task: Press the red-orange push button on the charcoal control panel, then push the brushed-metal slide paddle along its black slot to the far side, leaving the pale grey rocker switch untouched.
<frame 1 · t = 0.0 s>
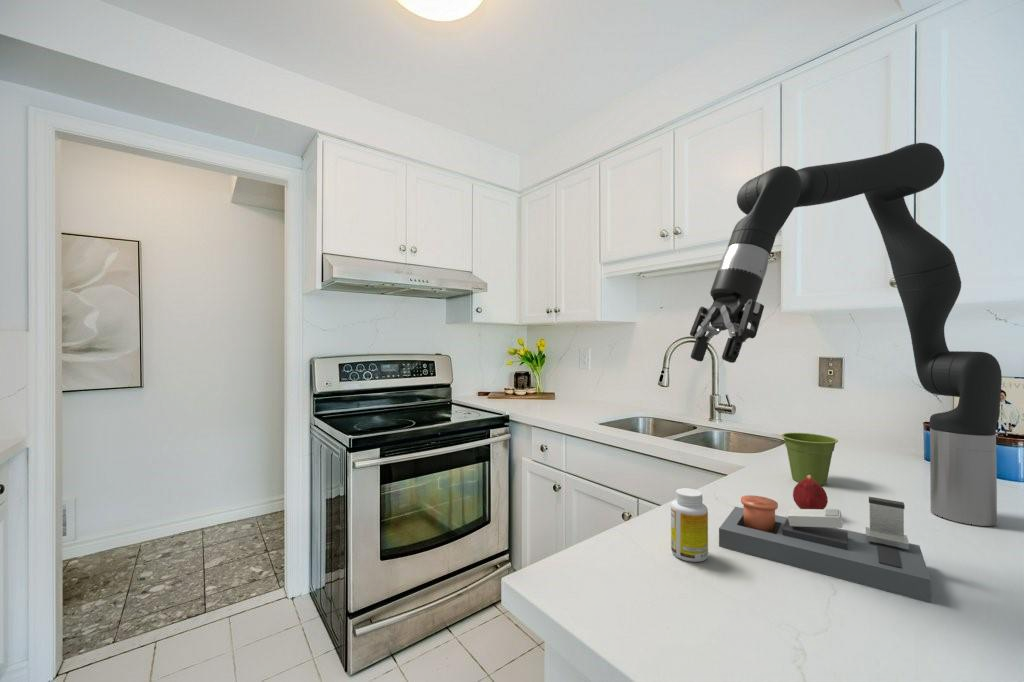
hand: (711, 360, 76), 31 cm above the countertop, tool tilted 20°, fingers open, 8 cm apart
plant pot: (809, 482, 110), on the countertop
onion: (810, 516, 87), on the countertop
rocker switch: (814, 517, 71), point 6 cm above the countertop, hinge at 12.0°
slide paddle: (886, 520, 68), point 7 cm above the countertop, slide at 0.0 cm
push button: (759, 513, 76), point 5 cm above the countertop, slide at 0.0 cm
supplement bottle: (689, 556, 70), on the countertop
control panel: (815, 555, 70), on the countertop
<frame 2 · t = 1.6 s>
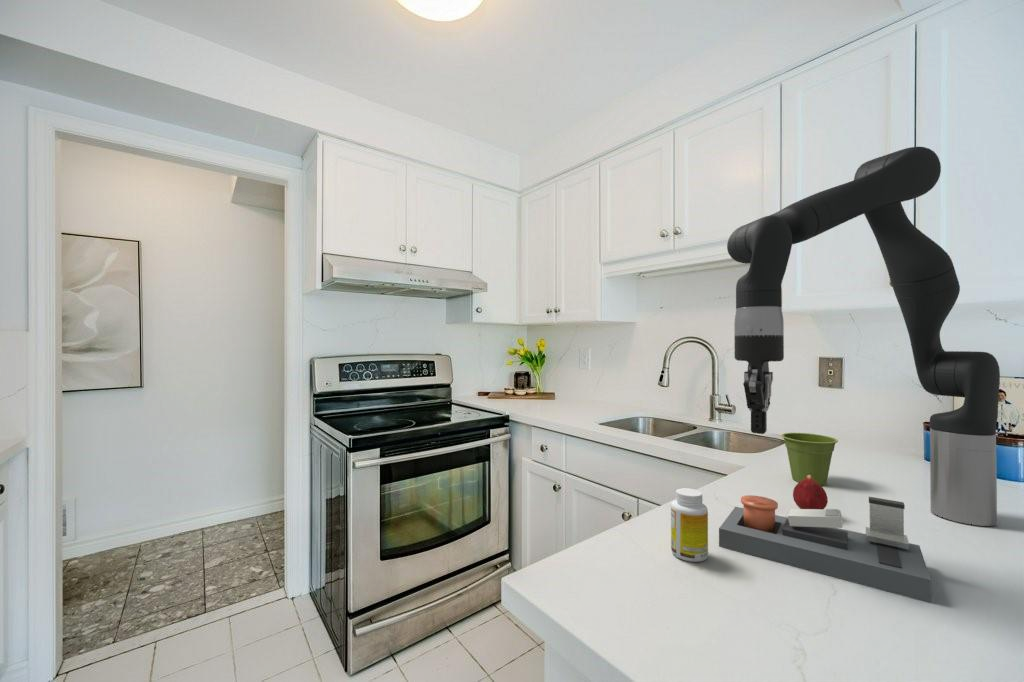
hand: (758, 432, 76), 19 cm above the countertop, tool pointing down, fingers closed
nothing on the countertop moved.
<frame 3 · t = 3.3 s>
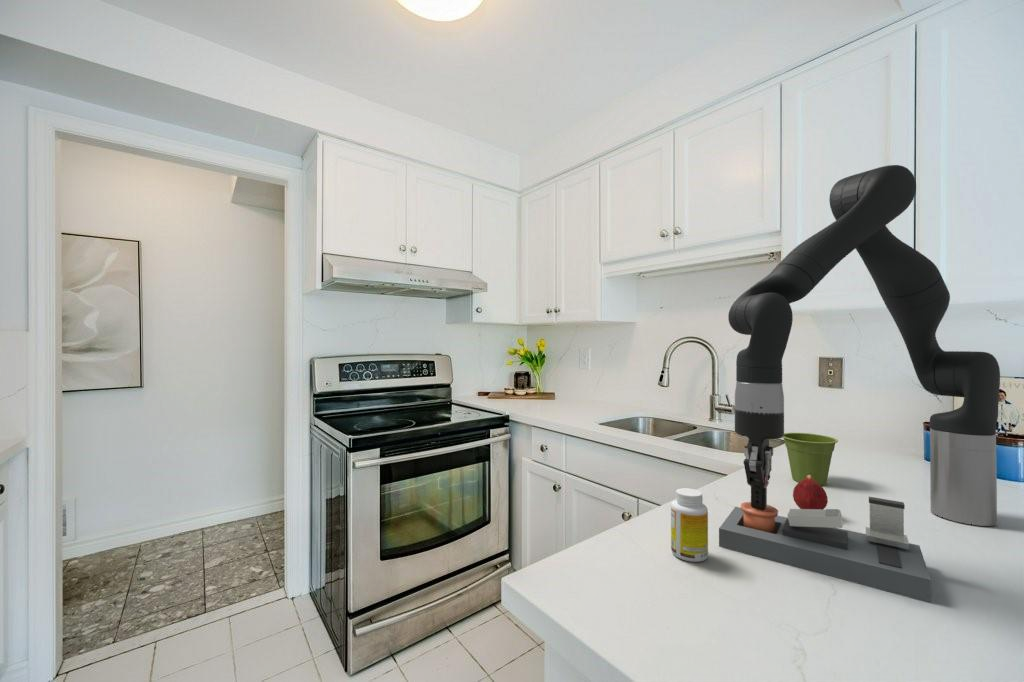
hand: (758, 507, 75), 6 cm above the countertop, tool pointing down, fingers closed
push button: (759, 520, 76), point 4 cm above the countertop, slide at 1.2 cm, touching gripper
everything else where it was.
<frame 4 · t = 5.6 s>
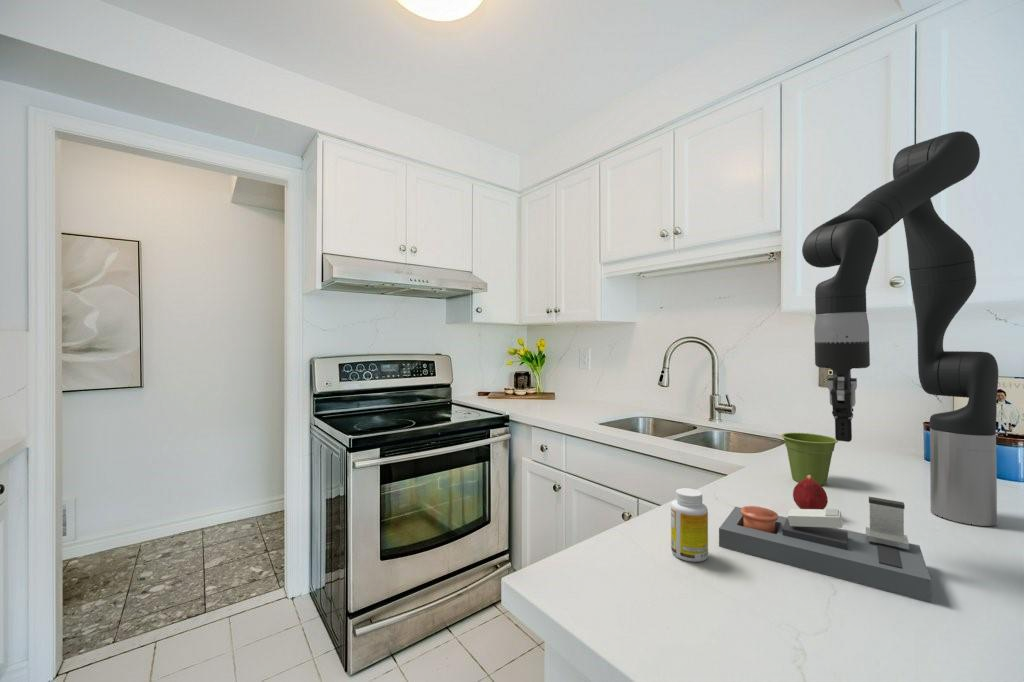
hand: (843, 440, 75), 18 cm above the countertop, tool pointing down, fingers closed
push button: (759, 524, 76), point 3 cm above the countertop, slide at 1.9 cm
everything else where it was.
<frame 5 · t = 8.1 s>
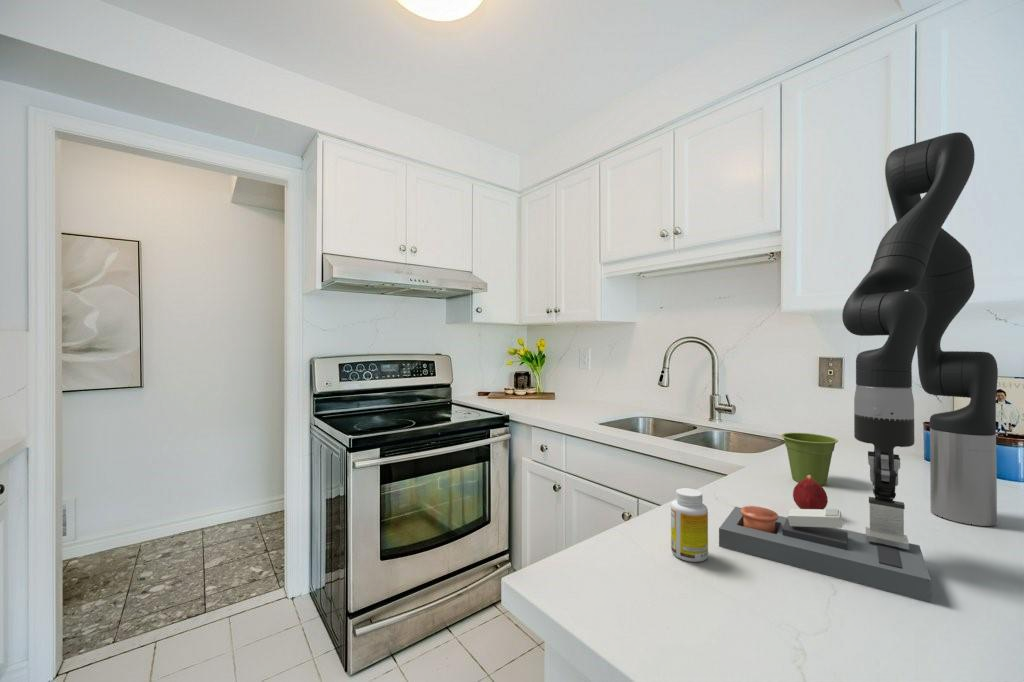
hand: (883, 519, 71), 6 cm above the countertop, tool pointing down, fingers closed
slide paddle: (886, 520, 68), point 7 cm above the countertop, slide at 0.0 cm, touching gripper
everything else where it was.
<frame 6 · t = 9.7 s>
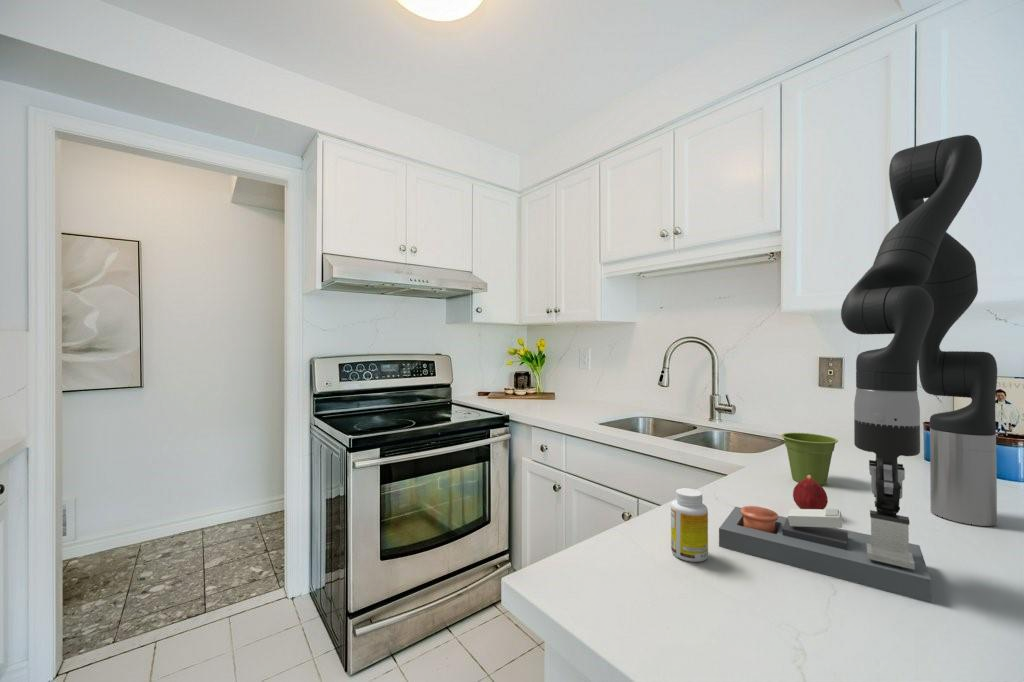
hand: (886, 534, 65), 6 cm above the countertop, tool pointing down, fingers closed
slide paddle: (889, 536, 62), point 7 cm above the countertop, slide at 7.6 cm, touching gripper
everything else where it was.
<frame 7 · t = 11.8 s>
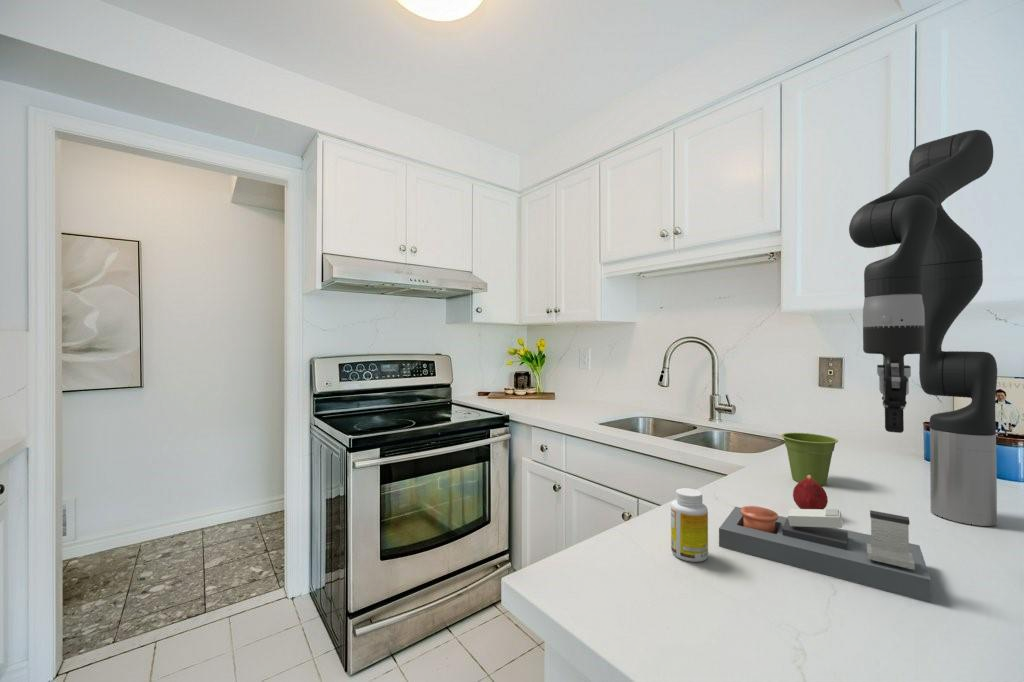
hand: (894, 431, 70), 20 cm above the countertop, tool pointing down, fingers closed
slide paddle: (889, 537, 62), point 7 cm above the countertop, slide at 7.6 cm
everything else where it was.
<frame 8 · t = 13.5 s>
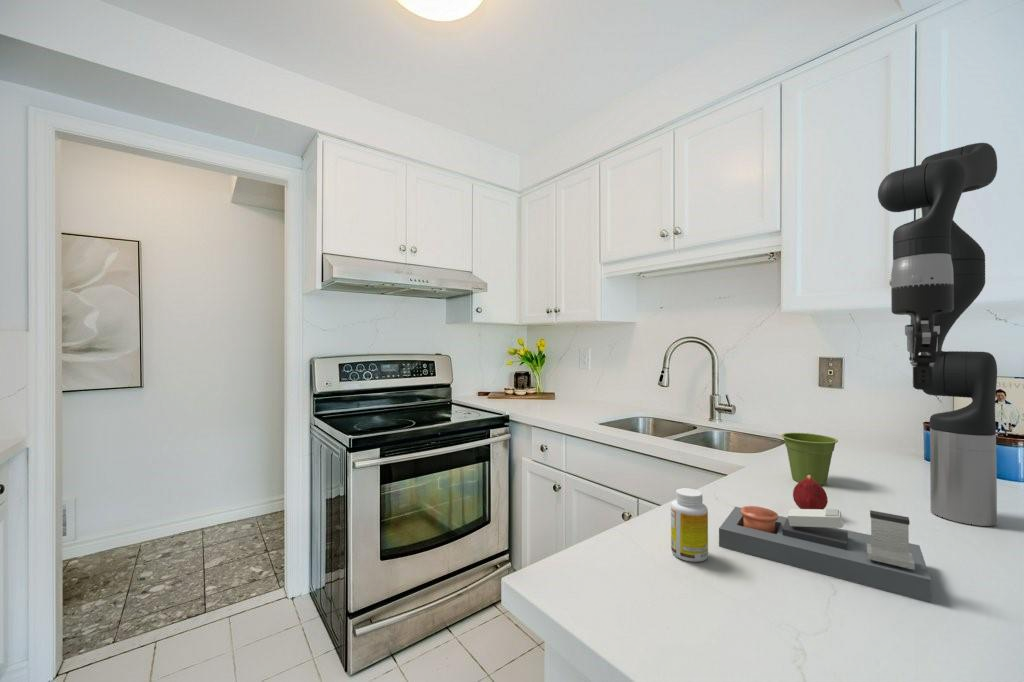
hand: (922, 389, 72), 27 cm above the countertop, tool pointing down, fingers closed
nothing on the countertop moved.
at the end: push button slide at 1.9 cm; slide paddle slide at 7.6 cm; rocker switch at +12° (first picture: +12°) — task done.
